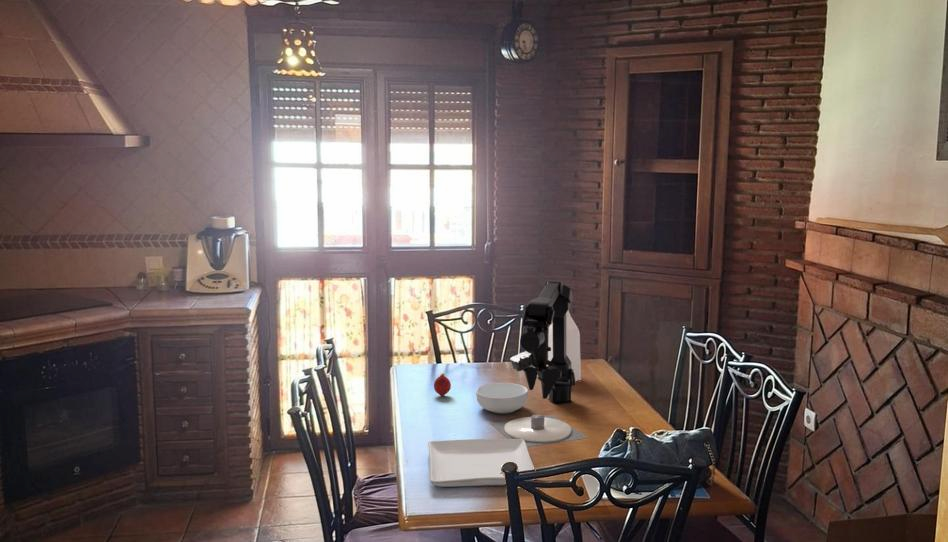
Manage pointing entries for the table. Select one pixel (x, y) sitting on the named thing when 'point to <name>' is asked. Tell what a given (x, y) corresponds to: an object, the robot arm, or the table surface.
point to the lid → (537, 429)
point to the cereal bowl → (502, 397)
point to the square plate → (475, 461)
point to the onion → (442, 385)
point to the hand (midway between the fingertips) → (537, 394)
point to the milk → (569, 345)
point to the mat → (573, 436)
